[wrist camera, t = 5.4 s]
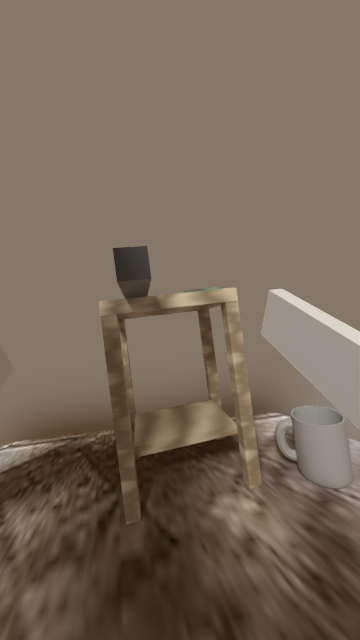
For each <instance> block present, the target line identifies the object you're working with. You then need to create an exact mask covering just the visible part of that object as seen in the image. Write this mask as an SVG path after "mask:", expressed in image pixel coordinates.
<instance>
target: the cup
mask: <svg viewBox="0 0 360 640" xmlns="http://www.w3.org/2000/svg"><path fill="white" fill-rule="evenodd" d="M287 429H293V435H294V442H295V450H294V449H291V448H289V446H288V444H287V441H286V431H287ZM275 436H276V442H277V445H278V447H279V449H280V450H281V452H282V453H283V454H284V455H285V456H286V457H287V458H289V459H291V460H293V461H297V463H298V467H299V470H300V472H301V473H302V474H303V476H304V477H306V478H307V479H308V480H309V481H311V482H312V483H314V484H317V485H319V486H322V487H325V488H331V489H342V488H345V487H347V486H348V485H350V484H351V483H352V480H353V471H352V463H351V456H350V449H349V442H348V436H347V428H346V420H345V416H344V415H343V414H342V413H340V412H339V411H336V410H334V409H331V408H327V407H322V406H300V407H297V408H294V409H293V410H292V411H291V418H287V419H283V420H281V421H280V422H279V423H278V424H277V427H276V431H275Z"/></svg>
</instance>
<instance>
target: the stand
mask: <svg viewBox="0 0 360 640" xmlns="http://www.w3.org/2000/svg"><path fill="white" fill-rule="evenodd" d="M220 305H221V310H222V318H223V325H224V333H225V341H226V348H227V356H228V363H229V371H230V379H231V387H232V394H233V401H234V409H235V417H236V423H235V422H234V421H233V420H232V419H231V418H230V417H229V416H228V415H227V414H226V413H225V412H224V411H223V410H222V405H221V398H220V390H219V382H218V376H217V367H216V359H215V352H214V345H213V337H212V328H211V321H210V313H209V309H210V308H213V307H217V306H220ZM99 307H100V315H101V323H102V331H103V340H104V347H105V356H106V364H107V372H108V381H109V388H110V396H111V405H112V413H113V421H114V430H115V438H116V446H117V454H118V463H119V471H120V479H121V487H122V495H123V504H124V512H125V520H126V525H128V524H131V523H134V522H138V521H141V503H140V495H139V487H138V478H137V470H136V462H135V460H138V459H141V456H145V455H149V454H153V453H158V452H162V451H166V450H170V449H174V448H179V447H183V446H187V445H191V444H196V443H200V442H204V441H208V440H212V439H216V440H217V441H218V440H222V439H226V436H229V435H234V434H238V440H239V448H240V455H241V463H242V471H243V478H244V481H245V482H246V484H247V485H248V487H249V488H250V489H251V488H255V487H258V486H262V480H261V472H260V465H259V457H258V450H257V442H256V434H255V427H254V419H253V412H252V404H251V397H250V389H249V382H248V374H247V366H246V359H245V352H244V344H243V336H242V328H241V321H240V313H239V306H238V298H237V291H236V288H226V289H224V287H216V288H206V289H196V290H186V291H184V292H183V293H177V294H166V295H157V296H147V297H137V298H127V299H117V300H108V301H99ZM190 311H198V317H199V325H200V333H201V340H202V348H203V356H204V364H205V371H206V379H207V387H208V394H209V400H207V401H202V402H197V403H192V404H187V405H182V406H177V407H172V408H168V409H162V410H157V411H152V412H147V413H143V414H137V415H136V411H135V402H134V395H133V386H132V378H131V370H130V362H129V355H128V346H127V338H126V330H125V322H124V319H129V318H139V317H147V316H156V315H164V314H173V313H181V312H190Z"/></svg>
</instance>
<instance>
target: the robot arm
mask: <svg viewBox="0 0 360 640" xmlns="http://www.w3.org/2000/svg"><path fill="white" fill-rule="evenodd" d="M261 334H262V335H263V337H264V338H266V339H267V340H268V341H269V342H270V343H271V344H272V345H273V346H274V347H275V348H276V349H277V350H278V351H279V352H280V353H281V354H282V355H283V356H284V357H285V358H286V359H287V360H288V361H289V362H290V363H291V364H292V365H293V366H294V367H295V368H296V369H297V370H298V371H299V372H301V374H302V375H303V376H304V377H305V378H307V379H308V380H309V381H310V382H311V383H312V384H313V385H314V386H315V387H316V388H317V389H318V390H319V391H320V392H321V393H322V394H323V395H324V396H325V397H326V398H327V399H328V400H329V401H330V402H331V403H332V404H333V405H334V406H335V407H336V408H337V409H338V410H339V411H340V412H341V413H342V414H343V415H344V416H345V417H347V418H348V419H349V420H350V421H351V422H352V423H353V424H354V425H355V426H356V427H357V428H358V429H359V430H360V332H359V331H357V330H355V329H354V328H352V327H350V326H348V325H347V324H345V323H343V322H341V321H339V320H337V319H336V318H334V317H332V316H330V315H328V314H327V313H325V312H323V311H321V310H319V309H318V308H316V307H314V306H312V305H310V304H309V303H307V302H305V301H303V300H301V299H300V298H298V297H296V296H294V295H292V294H291V293H289V292H287V291H285V290H283V289H276V290H269V294H268V299H267V305H266V310H265V315H264V320H263V326H262V332H261ZM13 371H14V368H13V366H12V364H11V362H10V360H9V358H8V356H7V354H6V352H5V350H4V348H3V347H2V344H1V342H0V391H1V389H2V388H3V386H4V385H5V383H6V382H7V380H8V379H9V377H10V376H11V374H12V373H13Z"/></svg>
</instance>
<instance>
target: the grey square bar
mask: <svg viewBox="0 0 360 640" xmlns="http://www.w3.org/2000/svg"><path fill="white" fill-rule="evenodd" d="M113 252H114V261H115V269H116V276H117V282H118V285H119V287H120V289H121V291H122V293H123V295H124V297H125V299H127V298H137V297H147V295H148V290H149V286H150V282H151V274H150V266H149V258H148V250H147V246H142V247H124V248H113Z"/></svg>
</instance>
